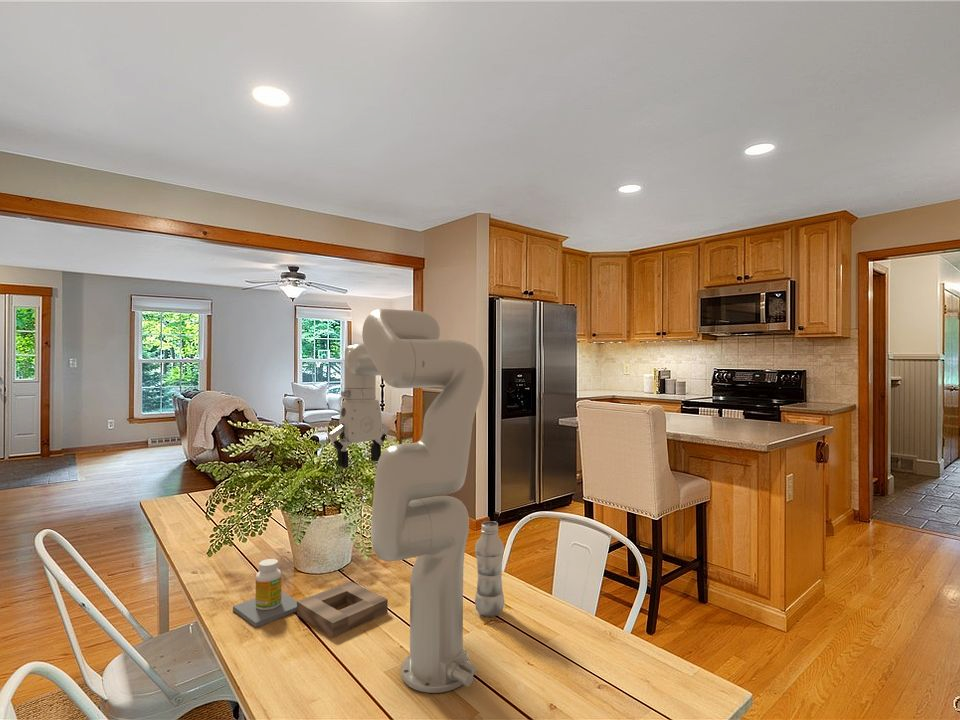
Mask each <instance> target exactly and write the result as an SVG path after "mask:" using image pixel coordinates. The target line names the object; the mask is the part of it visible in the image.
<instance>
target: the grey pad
mask: <svg viewBox="0 0 960 720" xmlns="http://www.w3.org/2000/svg"><path fill="white" fill-rule="evenodd" d="M297 601H298V600H297V599H296V598H293V597H292V596H290V595H289V594H287V593H286V592H284V591H282V590H281V604H280V605H279V606H278V607H276V608H274V609H270V610H259V609H257V608H256V597H255V598H252V599H249V600H245V601H244V602H241V603H238V604H234V605H232V611H233V612H234V613H236V614H237V615H238V616H240V617H241V618H242V619H244V620H245V621H246V622H248V623H249V624H251V626H253V627H254V628H258V627H260V626H263V625H265V624H269V623H271V622H274V621H276V620H279V619H280V618H284V617H286V616H289V615H291V613H292V614H294V613H297V612H296V611H297ZM293 612H294V613H293Z"/></svg>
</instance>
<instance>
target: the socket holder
mask: <svg viewBox="0 0 960 720" xmlns="http://www.w3.org/2000/svg"><path fill="white" fill-rule="evenodd" d="M388 603H389V602H388V598H385V597H384V596H382V595H380V594H378V593H376V592H373V590H372V591H371V590H370V589H368V588H365V587H363V586H361V585H359V584H357V583H355V582H353V581H347V582H345V583H342V584H339V585H338V586H335V587H331V588H329V589H326V590H324V591H321V592H318V593H316V594H313V595H310V596H307V597H305V598H302V599H300V600H297V612H296V616H297V617H299V618H301V619H302V618H303V619H302V620H304V621H305V622H307V623H309V624H310V625H312V626H313V627H315V628H317V629H318V630H320V631H322V632H323V633H325V635H328V636H329V637H331V639H332V638H335V637H338V636H340V635H343V634H344V633H346V632H349V631H351V630H354V629H355V628H358V627H361V625H364V624H366V623H368V622H371V621H372V620H374V619H377V618H379V617H382V616H384V615H386V614H388V613H389V611H388V607H389V606H388V605H389V604H388ZM345 605H347V606H345ZM343 606H345V607H344V608H341V609H339V610H338V608H340V607H343Z"/></svg>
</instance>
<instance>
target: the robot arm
mask: <svg viewBox="0 0 960 720" xmlns="http://www.w3.org/2000/svg"><path fill="white" fill-rule="evenodd" d="M361 332H362V333H361V334H362V336H361V337H362V342H363V343H356V344H352V345H347V346H346V347H345V350H344V388H343V389H344V391H343V390H342V391H341V392H340V396H341V397H342V398H343V399H344V400H342V402H341V407H340V411H339V413H340V414H339V419H338V420H339V423H338V424H339V425H338V426H337V427H335V429H333V430H332V431H330V432H329V433H328V435H327V436H328V439H329V440H330V442H331V445H332V447H333V448H335V450H336V451H337V464H338V467H340V468H343V469H347V468H348V467H349V451H348V450H347V449H348V448H349V446H350V445H351V443H352V444H355V443H363V442H364V443H365V442H369V441H370V442H371V443H372V444H371V445H370V460H371V461H372V462H376V469H375V475H374V476H375V477H374V485H373V487H374V488H373V498H372V499H373V500H372V510H371V511H372V512H371V523H370V524H371V525H370V539H371V546H372V549H373V552H374V553H375V555H376V557H378V558H379V559H380V560H381V561H385V562H397V561H401V560H407V559H411V558H416V559H415V561H414V564H413V566H412V569H411V573H410V583H409V584H410V586H409V589H410V591H409V603H410V604H409V607H410V608H409V655H408V656H406V658H405V659H404V661H402V664H401V669H400V670H401V679H402V680H403V682H404V683H405V684H406V685H407V686H408V687H410V688H411V689H413V690H415V691H418V692H420V693H421V692H422V693H429V694H439V693H445V692H450V691H452V690H455V689H457V688H460V687H461V686H465V687H470V686H471V685H472V683H473V681H474V675H476V673H477V667H476V666H475V665H473V664H472V663H471V659H470V658H469V656H468V651H467V650H466V649H465V648H464V644H463V643H464V640H463V639H464V637H463V636H464V625H463V624H464V566H465V565H464V563H465V552H466V551H465V550H466V547H467V546H466V545H467V541H468V537H469V531H470V530H469V529H470V517H469V516H470V515H469V512H468V509H467V507H466V505H465V504H464V503H463V501H462V500H460V499H458V498H457V497H455V496H451V495H450V496H449V494H453V493H456V492H458V491H460V490H461V489H462V488H463V486H464V485H465V481H466V478H467V477H466V476H467V472H468V465H469V459H470V458H469V457H470V451H471V450H470V449H471V442H472V433H473V432H472V430H473V425H474V419H475V415H476V412H477V408H478V405H479V402H480V399H481V398H482V397H481V396H482V393H483V389H484V382H485V380H484V379H485V369H484V363H483V358H482V357H481V354H480V352H479V350H477V348H476V347H474V346H473V345H472V344H470V343H467V342H465V341H461V340H454V339H440V334H441V329H440V325H439V322H438V321H437V320H436V319H435V317H433V316H432V315H431V314H429V313H427V312H424V311H421V310H420V311H419V310H415V309H414V310H411V309H410V310H408V309H393V308H392V309H390V308H389V309H388V308H379V309H376V310H375V309H374V310H373V311H371V312H370V313H369V314H368V315H367V317H366V318H365V320H364V322H363V325H362V331H361ZM377 376H380V377H381V378H382V380H383V381H384V382H385V383H386V384H387V385H388V386H390V387H392V388H396V389H421V388H424V389H425V388H442V391H441V392H440V393H439V394H438V395H437V396H436V397H435V398H434V399H433V401H432V402H431V404H430V405H429V406H428V408H427V409H426V412H425V413H424V417H423V425H422V426H423V427H422V434H421V438H420V439H419V440H418V441H416V442H409V443H398V444H392V445H391V446H389V447H387V448H385V449H384V451H382V447H383V446H384V441H385V440H386V439H387V435H388V433H389V431H390V427H389V426H387V425H386V424H384V423H383V422H382V421H383V420H382V412H381V406H380V402H379V400H378V399H377V398H376V397H377V396H376V394H377V393H376V392H377V391H376V390H377V387H376V382H377V381H376V378H377ZM385 436H386V438H385ZM338 437H339V439H338Z"/></svg>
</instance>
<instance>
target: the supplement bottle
mask: <svg viewBox="0 0 960 720" xmlns="http://www.w3.org/2000/svg"><path fill="white" fill-rule="evenodd" d="M281 591H282V571H281V570H280V569H279V560H277V559H275V558H268V559H267V558H266V559H263V560H261V561H260V562H258V572H256V575H255V598H256V608H257V609H259V610H270V609H274V608H276V607H278V606H279V605H280V604H281Z"/></svg>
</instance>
